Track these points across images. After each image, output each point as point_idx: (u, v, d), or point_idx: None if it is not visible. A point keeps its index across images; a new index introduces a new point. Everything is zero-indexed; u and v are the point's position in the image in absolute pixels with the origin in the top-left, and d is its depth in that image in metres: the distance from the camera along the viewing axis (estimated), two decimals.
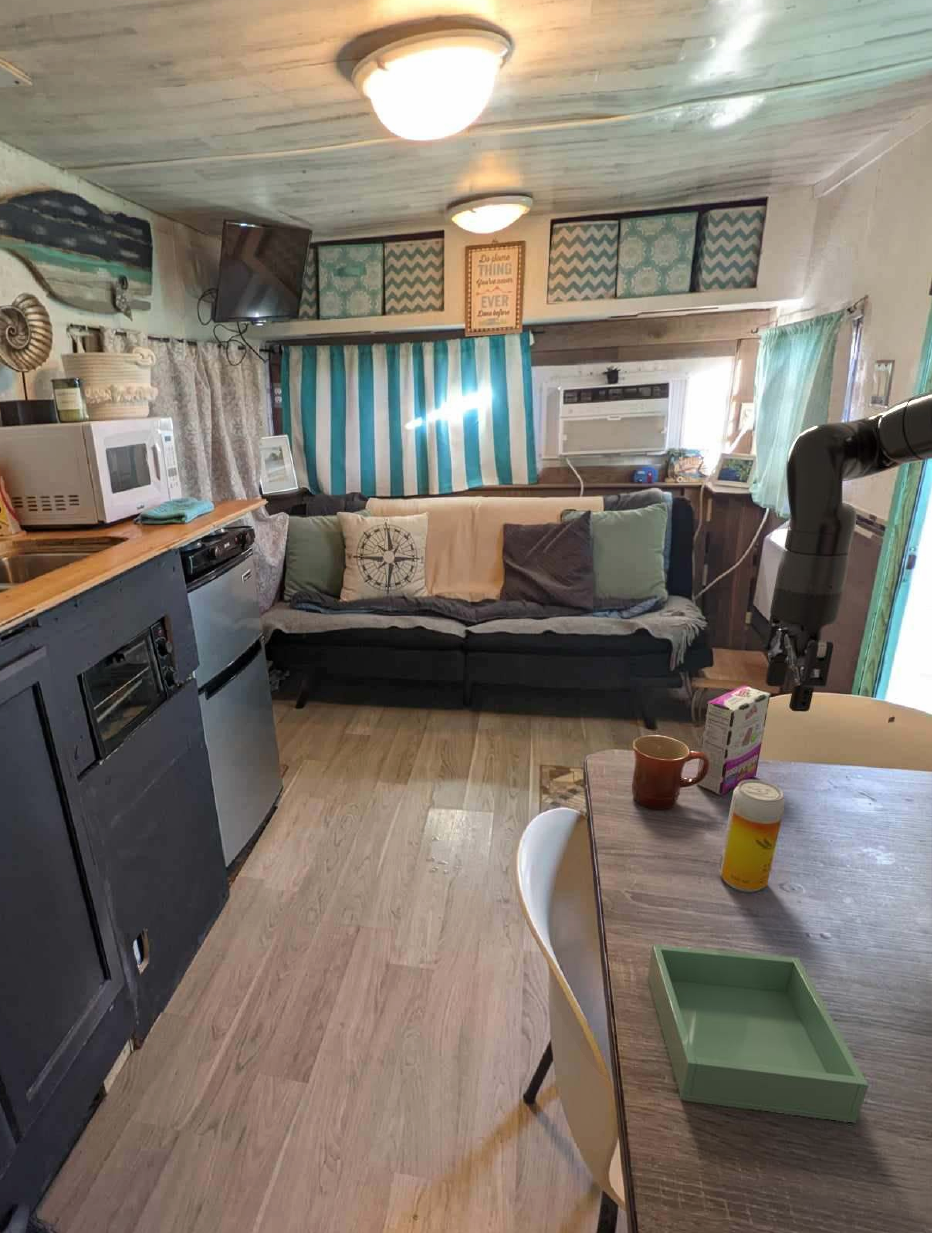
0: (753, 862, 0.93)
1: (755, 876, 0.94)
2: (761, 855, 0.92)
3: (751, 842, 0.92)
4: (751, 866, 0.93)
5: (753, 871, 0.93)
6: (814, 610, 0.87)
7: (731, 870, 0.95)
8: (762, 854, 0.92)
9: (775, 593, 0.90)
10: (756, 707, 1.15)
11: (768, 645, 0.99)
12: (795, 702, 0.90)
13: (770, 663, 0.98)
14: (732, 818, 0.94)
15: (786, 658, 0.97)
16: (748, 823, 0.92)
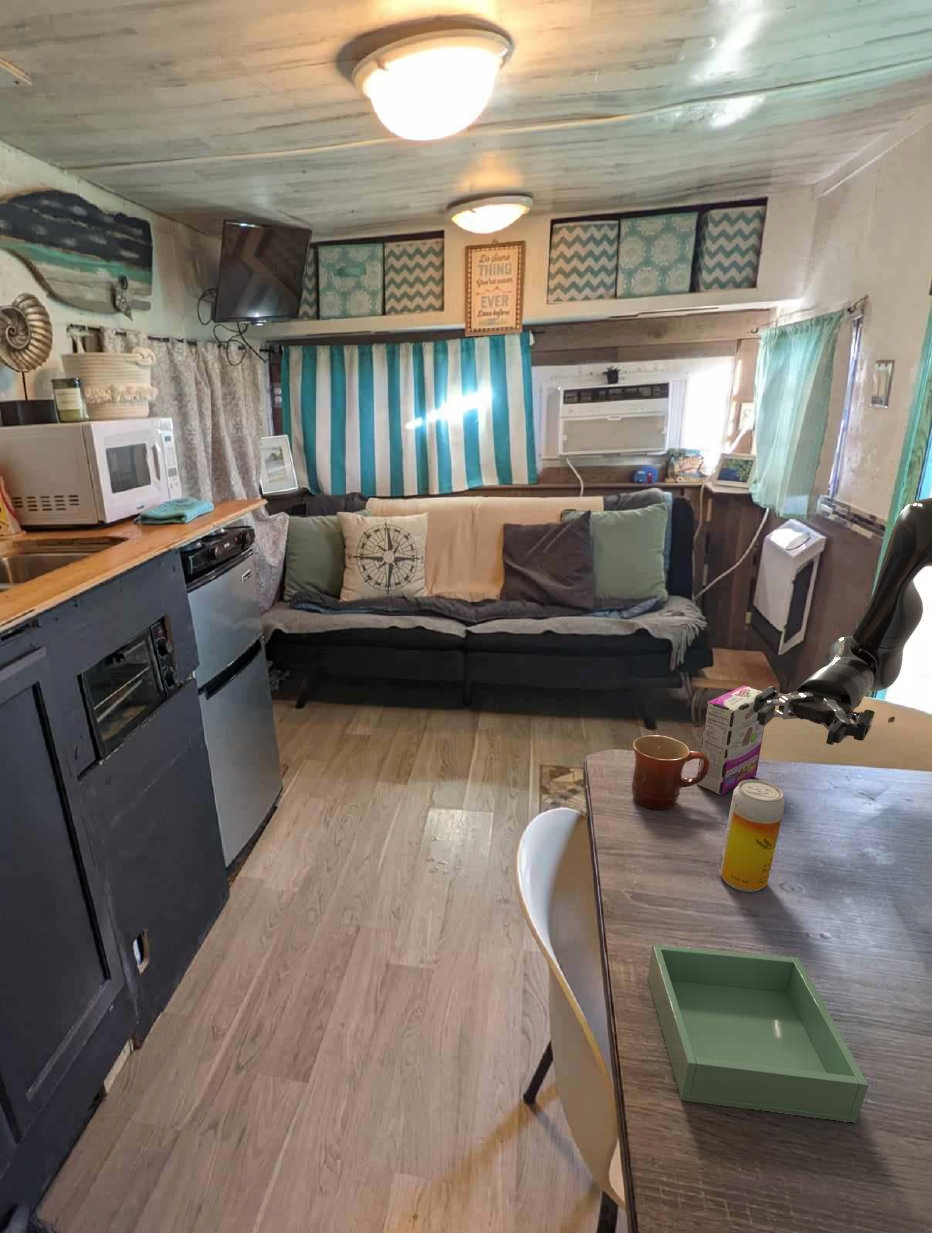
0: (753, 862, 0.93)
1: (755, 876, 0.94)
2: (761, 855, 0.92)
3: (751, 842, 0.92)
4: (751, 866, 0.93)
5: (753, 871, 0.93)
6: None
7: (731, 870, 0.95)
8: (762, 854, 0.92)
9: None
10: None
11: None
12: None
13: None
14: (732, 818, 0.94)
15: (840, 722, 0.96)
16: (748, 823, 0.92)
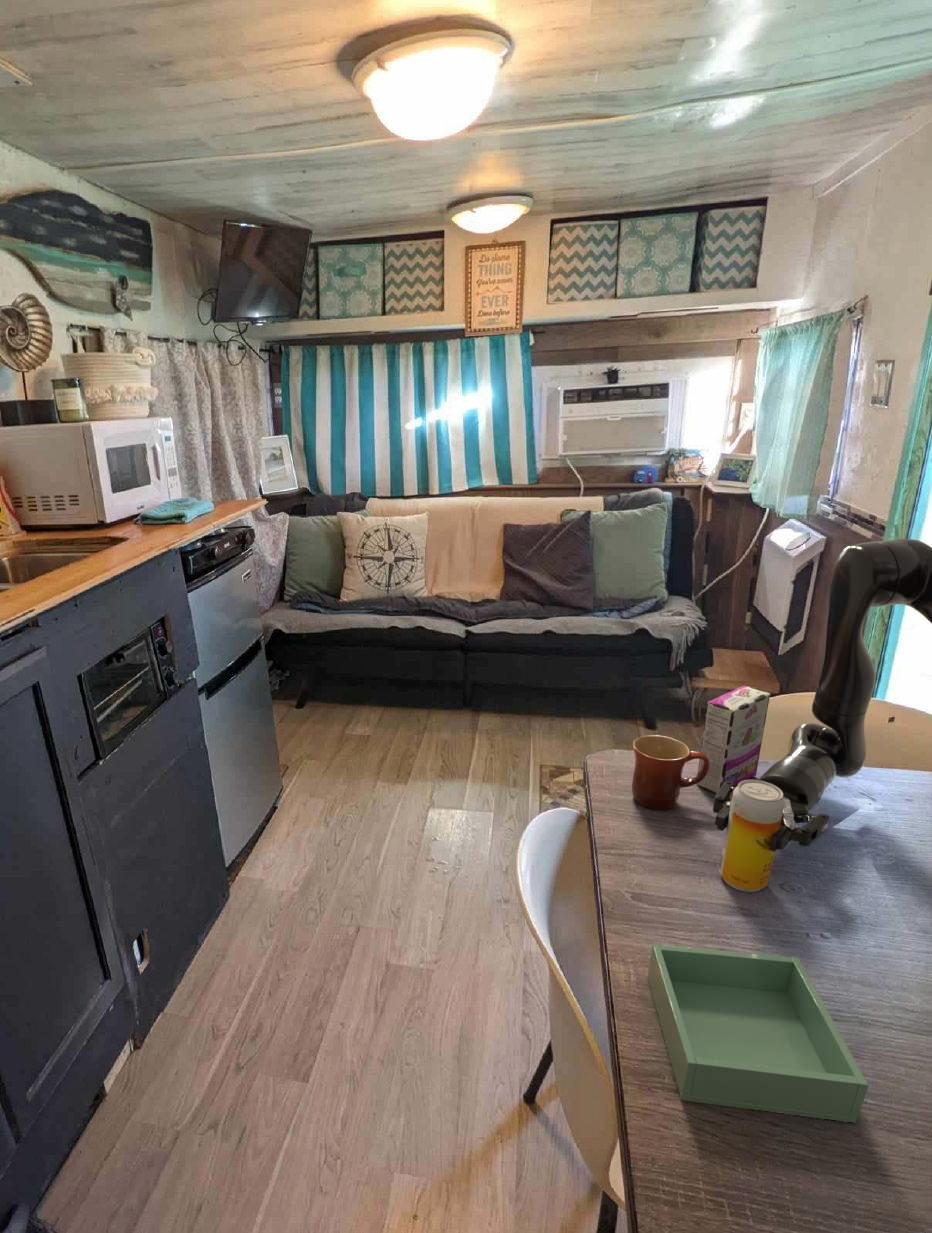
0: (753, 862, 0.93)
1: (755, 876, 0.94)
2: (761, 855, 0.92)
3: (751, 842, 0.92)
4: (751, 866, 0.93)
5: (753, 871, 0.93)
6: None
7: (732, 870, 0.95)
8: (762, 854, 0.92)
9: None
10: (756, 707, 1.15)
11: None
12: None
13: None
14: (732, 818, 0.94)
15: (784, 825, 0.93)
16: (748, 823, 0.92)
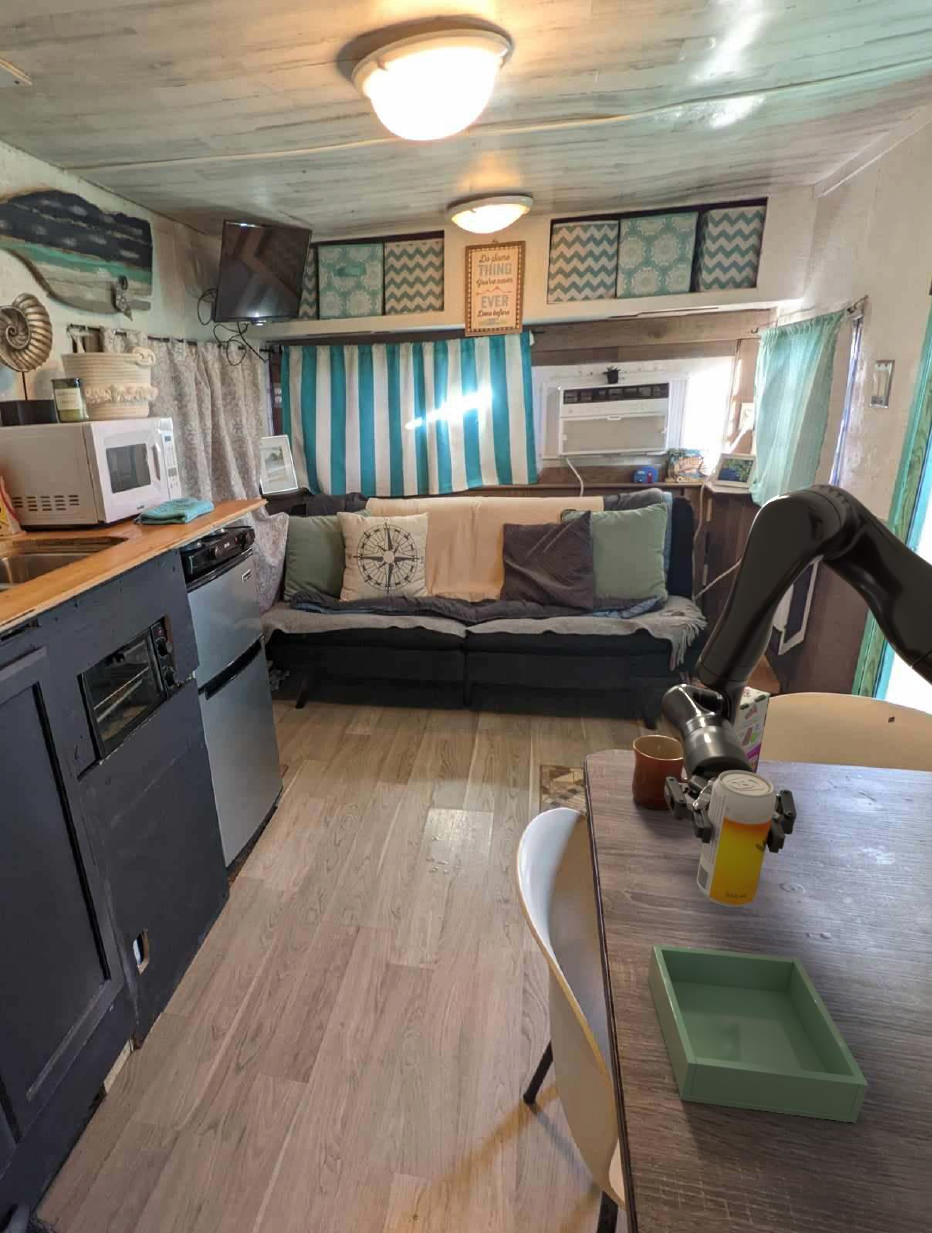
0: (751, 872, 0.75)
1: (753, 886, 0.76)
2: (759, 860, 0.75)
3: (751, 849, 0.74)
4: (749, 877, 0.76)
5: (751, 881, 0.76)
6: (687, 773, 0.88)
7: (726, 887, 0.77)
8: (760, 858, 0.75)
9: None
10: (756, 707, 1.15)
11: None
12: None
13: None
14: (722, 825, 0.75)
15: None
16: (747, 827, 0.73)
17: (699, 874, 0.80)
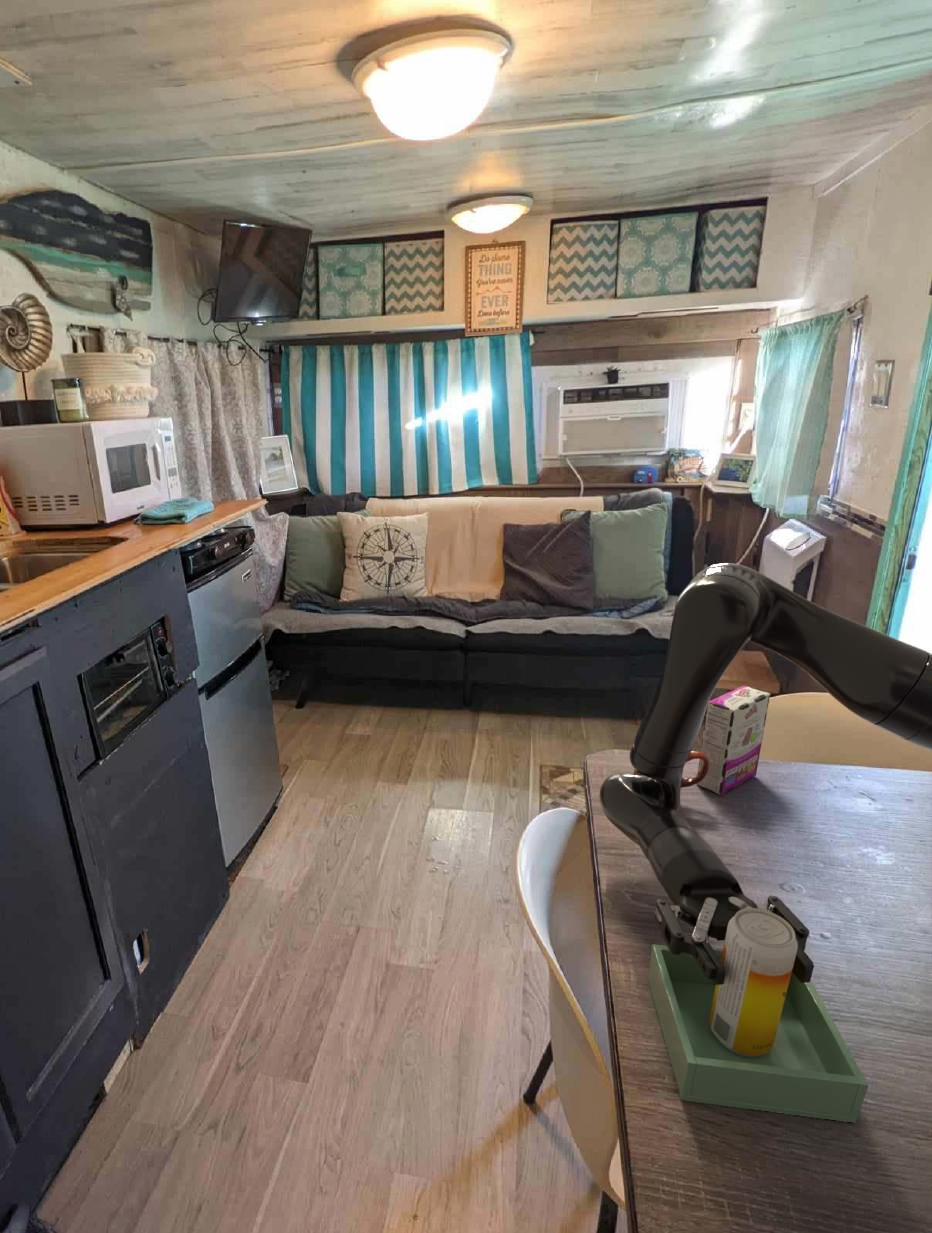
0: (777, 1020, 0.69)
1: (776, 1032, 0.70)
2: (782, 1006, 0.69)
3: (778, 999, 0.68)
4: (775, 1025, 0.69)
5: (776, 1028, 0.70)
6: (668, 889, 0.81)
7: (752, 1040, 0.70)
8: (783, 1004, 0.69)
9: None
10: (756, 707, 1.15)
11: None
12: None
13: None
14: (748, 978, 0.68)
15: None
16: (776, 979, 0.67)
17: (716, 1024, 0.73)
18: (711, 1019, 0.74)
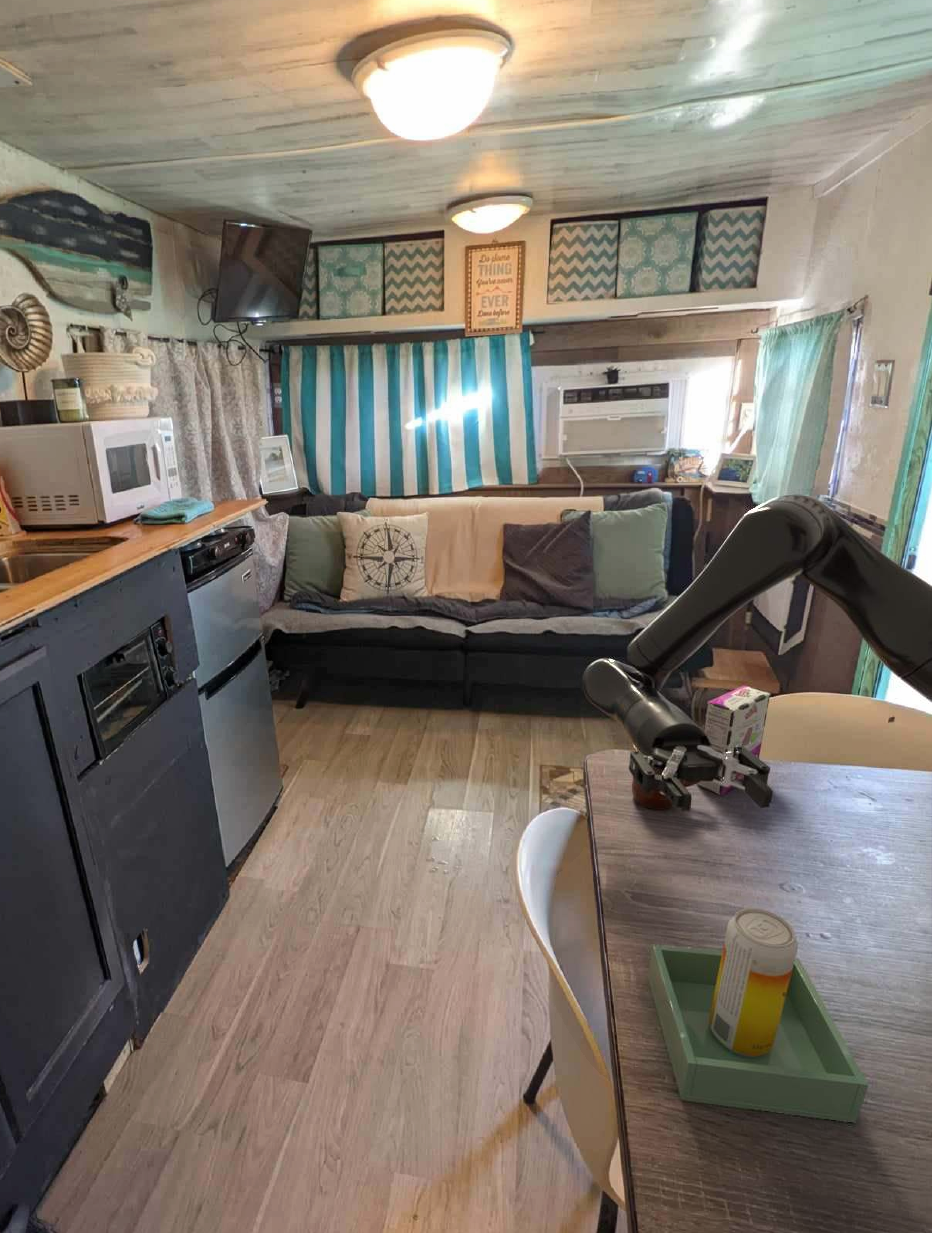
0: (777, 1020, 0.69)
1: (776, 1032, 0.70)
2: (782, 1006, 0.69)
3: (778, 999, 0.68)
4: (775, 1025, 0.69)
5: (776, 1028, 0.70)
6: (642, 747, 0.87)
7: (752, 1040, 0.70)
8: (783, 1004, 0.69)
9: None
10: (756, 707, 1.15)
11: None
12: None
13: None
14: (748, 979, 0.68)
15: (746, 774, 0.78)
16: (776, 979, 0.67)
17: (716, 1024, 0.72)
18: (711, 1019, 0.74)
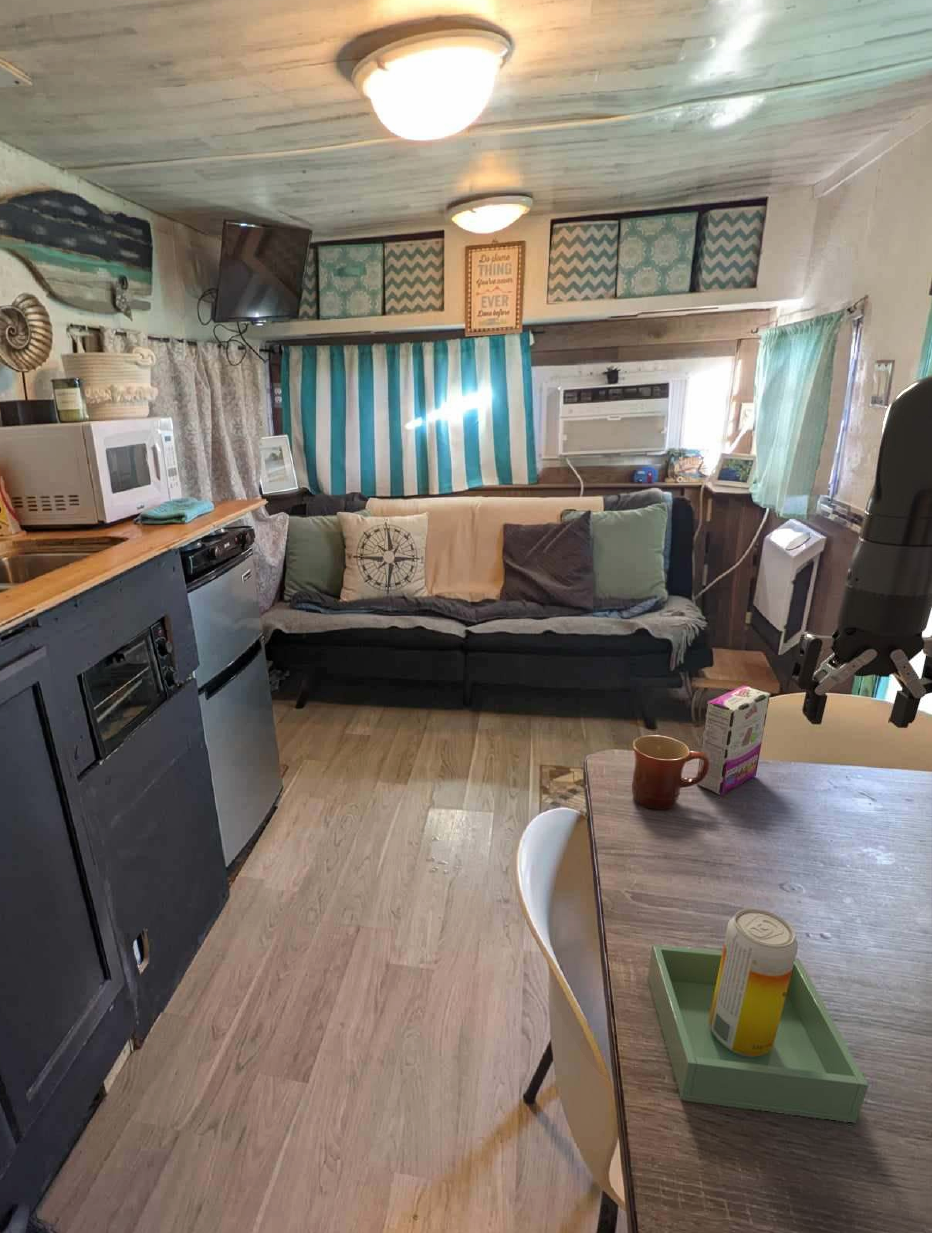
0: (777, 1020, 0.69)
1: (776, 1032, 0.70)
2: (782, 1006, 0.69)
3: (778, 999, 0.68)
4: (775, 1025, 0.69)
5: (776, 1028, 0.70)
6: (843, 604, 0.73)
7: (752, 1040, 0.70)
8: (783, 1004, 0.69)
9: None
10: (756, 707, 1.15)
11: (922, 675, 0.75)
12: None
13: None
14: (748, 979, 0.68)
15: (911, 693, 0.74)
16: (776, 979, 0.67)
17: (716, 1024, 0.72)
18: (711, 1019, 0.74)
